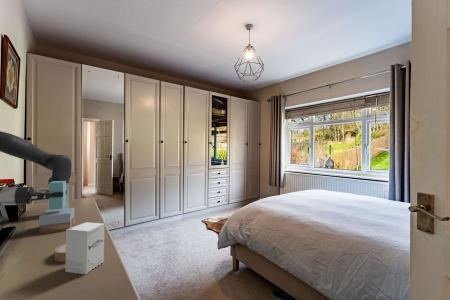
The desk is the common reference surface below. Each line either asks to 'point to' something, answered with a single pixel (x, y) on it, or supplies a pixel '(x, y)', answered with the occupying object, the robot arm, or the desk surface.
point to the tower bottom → (56, 227)
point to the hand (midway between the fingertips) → (64, 193)
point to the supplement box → (84, 247)
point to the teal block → (57, 201)
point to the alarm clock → (61, 252)
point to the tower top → (56, 216)
